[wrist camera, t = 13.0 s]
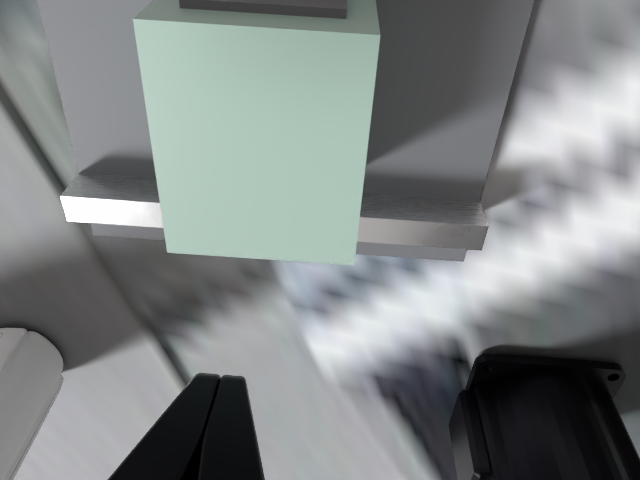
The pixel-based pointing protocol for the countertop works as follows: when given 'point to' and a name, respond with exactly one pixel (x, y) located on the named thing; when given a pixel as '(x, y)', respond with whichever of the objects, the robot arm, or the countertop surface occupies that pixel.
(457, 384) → the countertop surface
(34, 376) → the photo printer
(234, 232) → the green module
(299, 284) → the countertop surface
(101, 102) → the mounting board
